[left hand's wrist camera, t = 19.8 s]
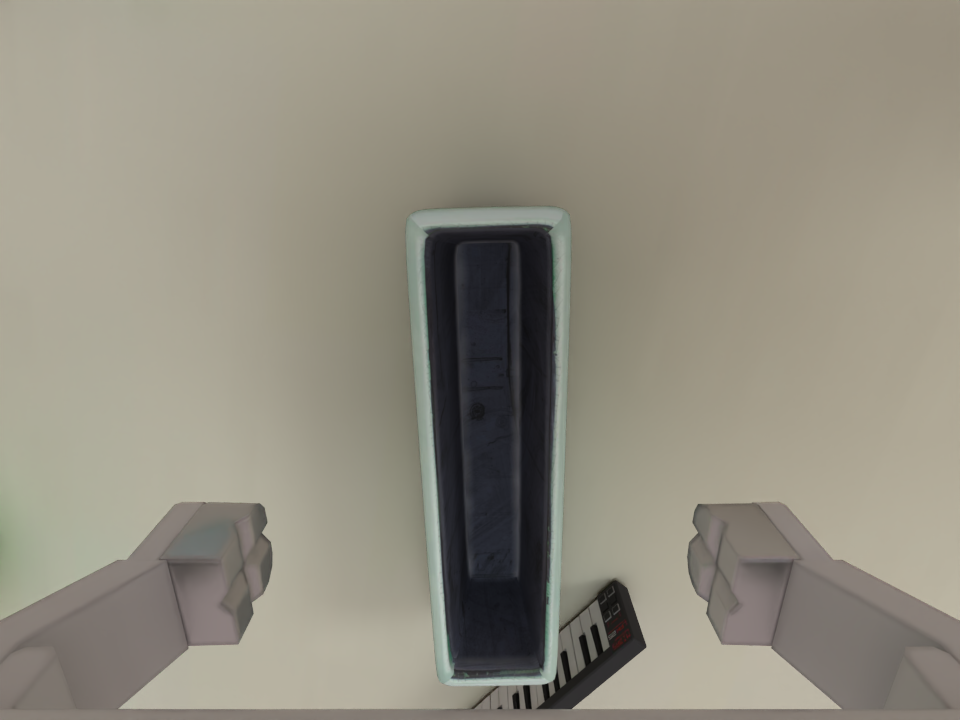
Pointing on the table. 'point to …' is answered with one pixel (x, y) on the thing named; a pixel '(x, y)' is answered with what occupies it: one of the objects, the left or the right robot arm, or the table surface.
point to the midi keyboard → (582, 656)
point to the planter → (492, 432)
